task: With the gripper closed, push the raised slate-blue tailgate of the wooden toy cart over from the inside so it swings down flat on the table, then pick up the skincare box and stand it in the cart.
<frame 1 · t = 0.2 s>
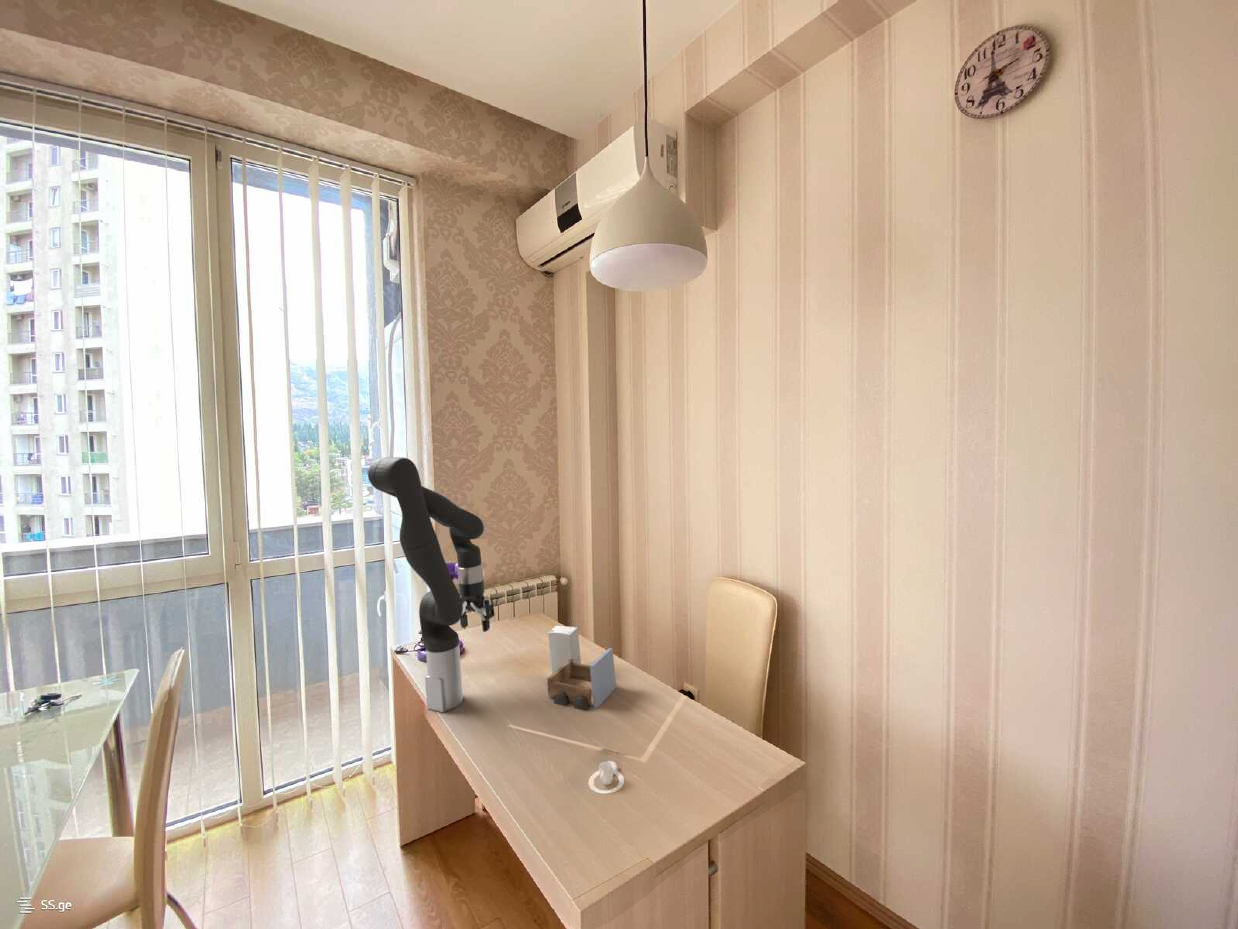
hand: (475, 629, 160), 17 cm above the table, tool pointing down, fingers open, 8 cm apart
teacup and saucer: (619, 780, 114), on the table
skincare box: (566, 674, 164), on the table
wooden toy cart: (583, 695, 150), on the table
tailgate: (603, 677, 146), point 7 cm above the table, hinge at -3.0°
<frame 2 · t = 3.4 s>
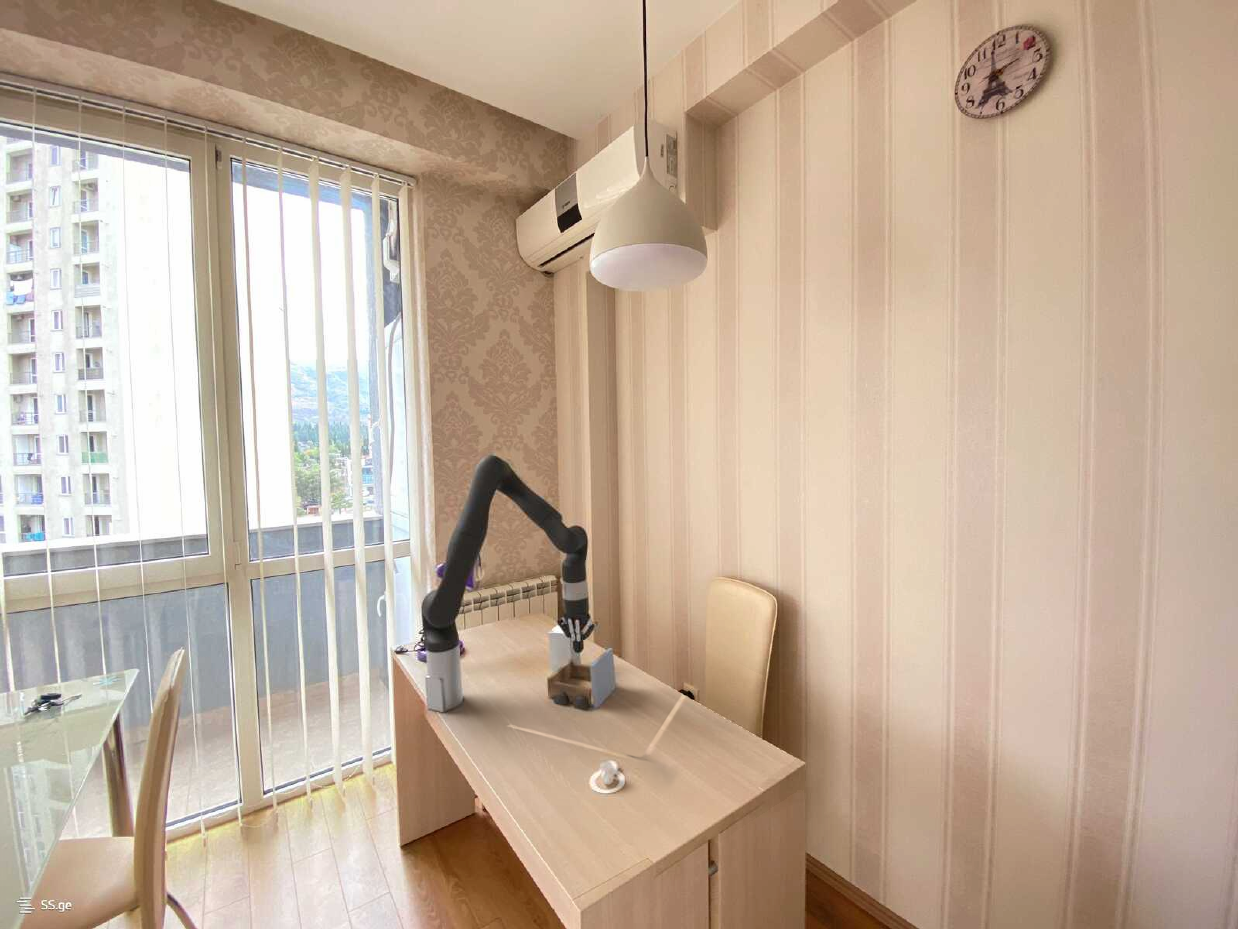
hand: (578, 651, 150), 13 cm above the table, tool pointing down, fingers closed
nothing on the table moved.
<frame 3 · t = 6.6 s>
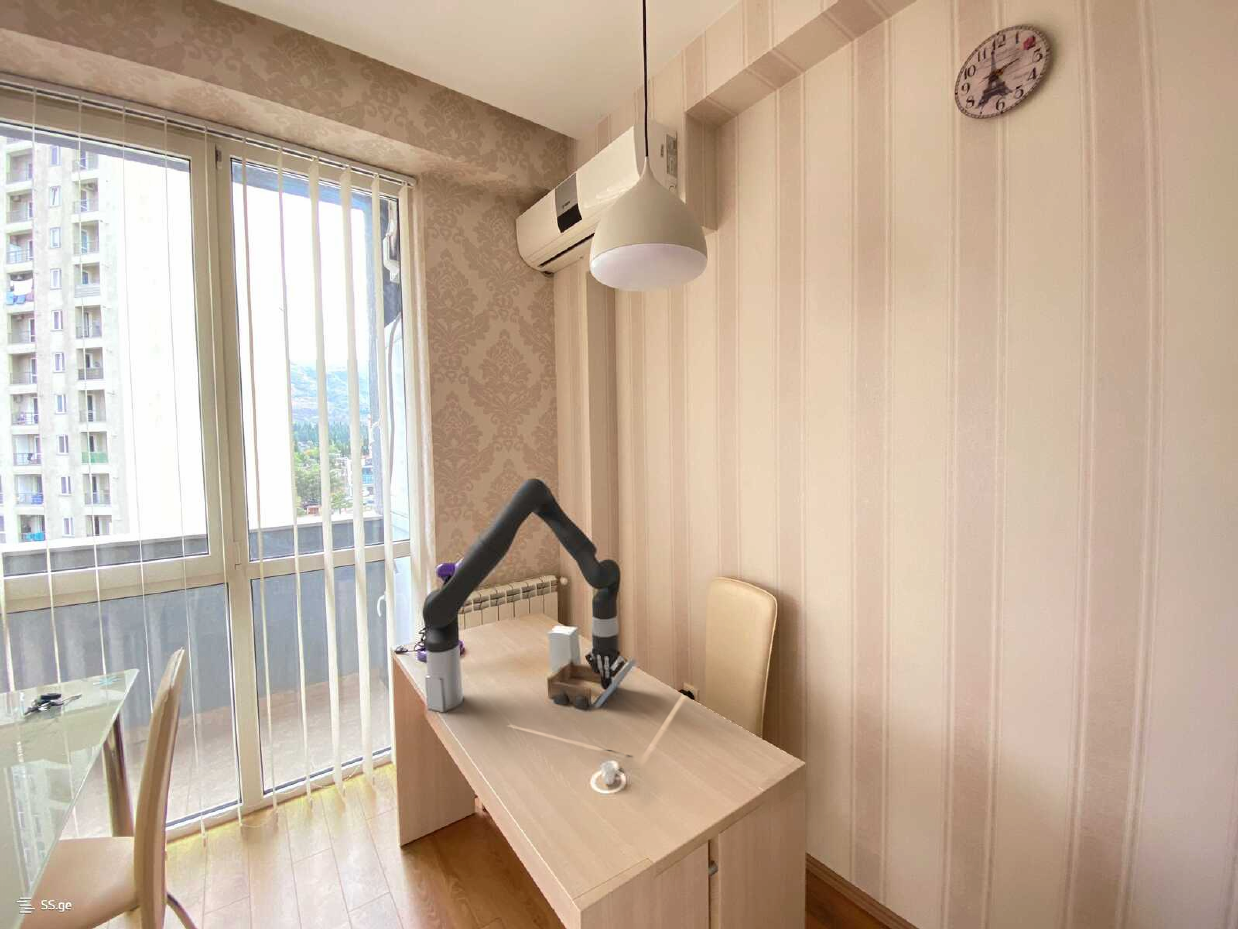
hand: (606, 688, 147), 4 cm above the table, tool pointing down, fingers closed
tailgate: (615, 683, 145), point 6 cm above the table, hinge at 37.1°, touching gripper
everything else where it was.
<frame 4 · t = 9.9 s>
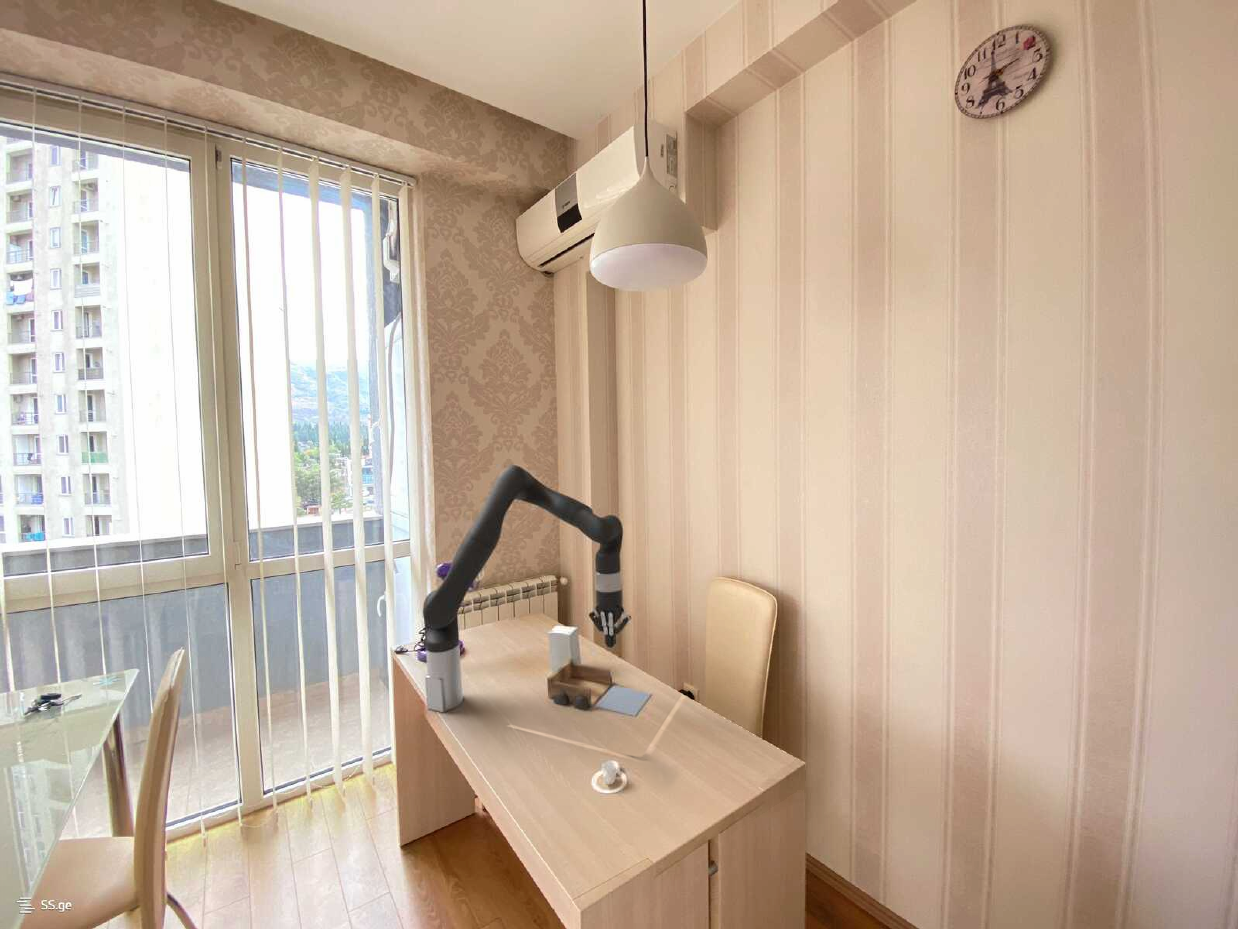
hand: (610, 646, 144), 17 cm above the table, tool pointing down, fingers closed
tailgate: (624, 701, 144), point 1 cm above the table, hinge at 92.0°
everything else where it was.
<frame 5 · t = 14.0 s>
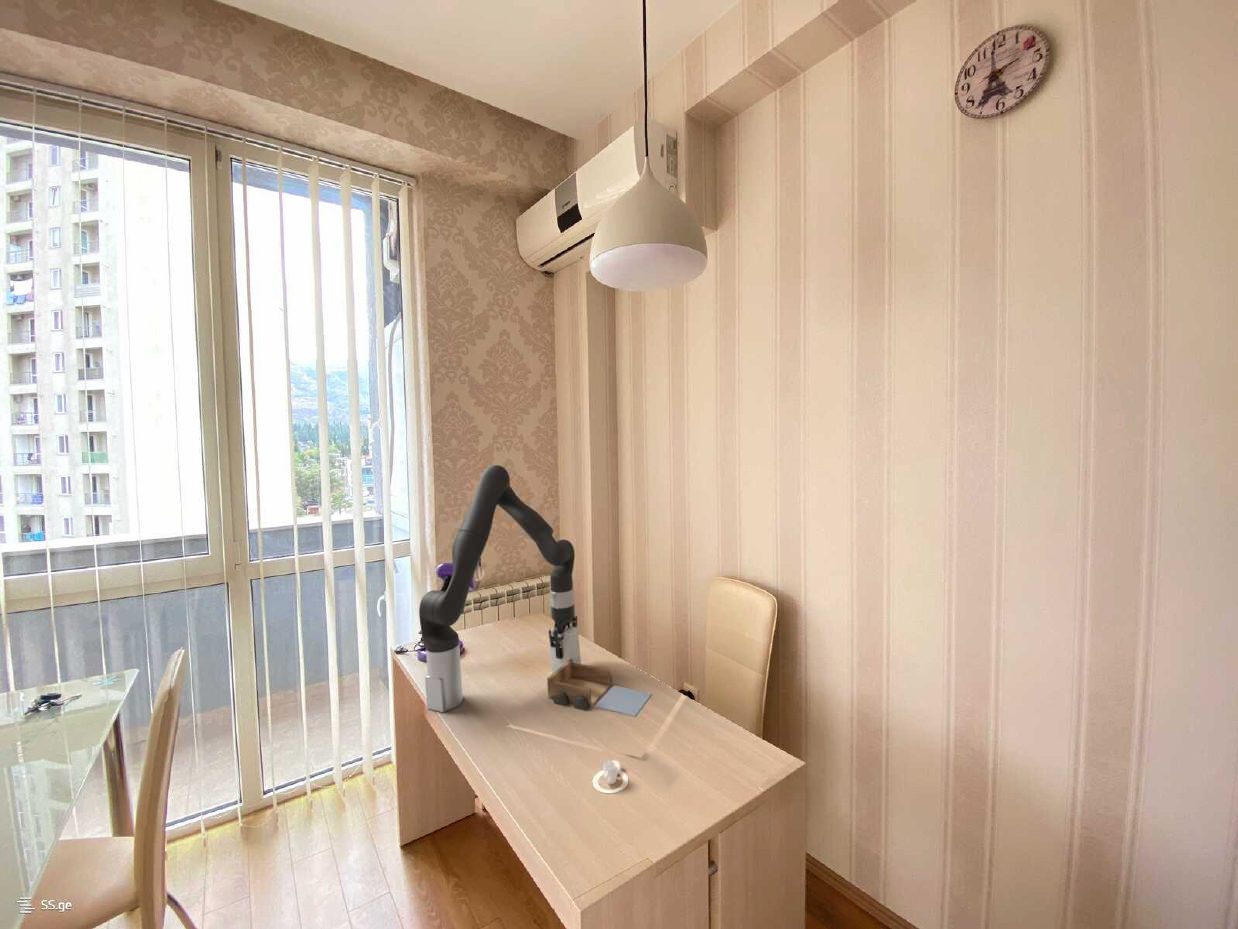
hand: (564, 653, 163), 7 cm above the table, tool pointing down, fingers closed on skincare box, 6 cm apart
skincare box: (566, 674, 164), on the table, touching gripper
everything else where it was.
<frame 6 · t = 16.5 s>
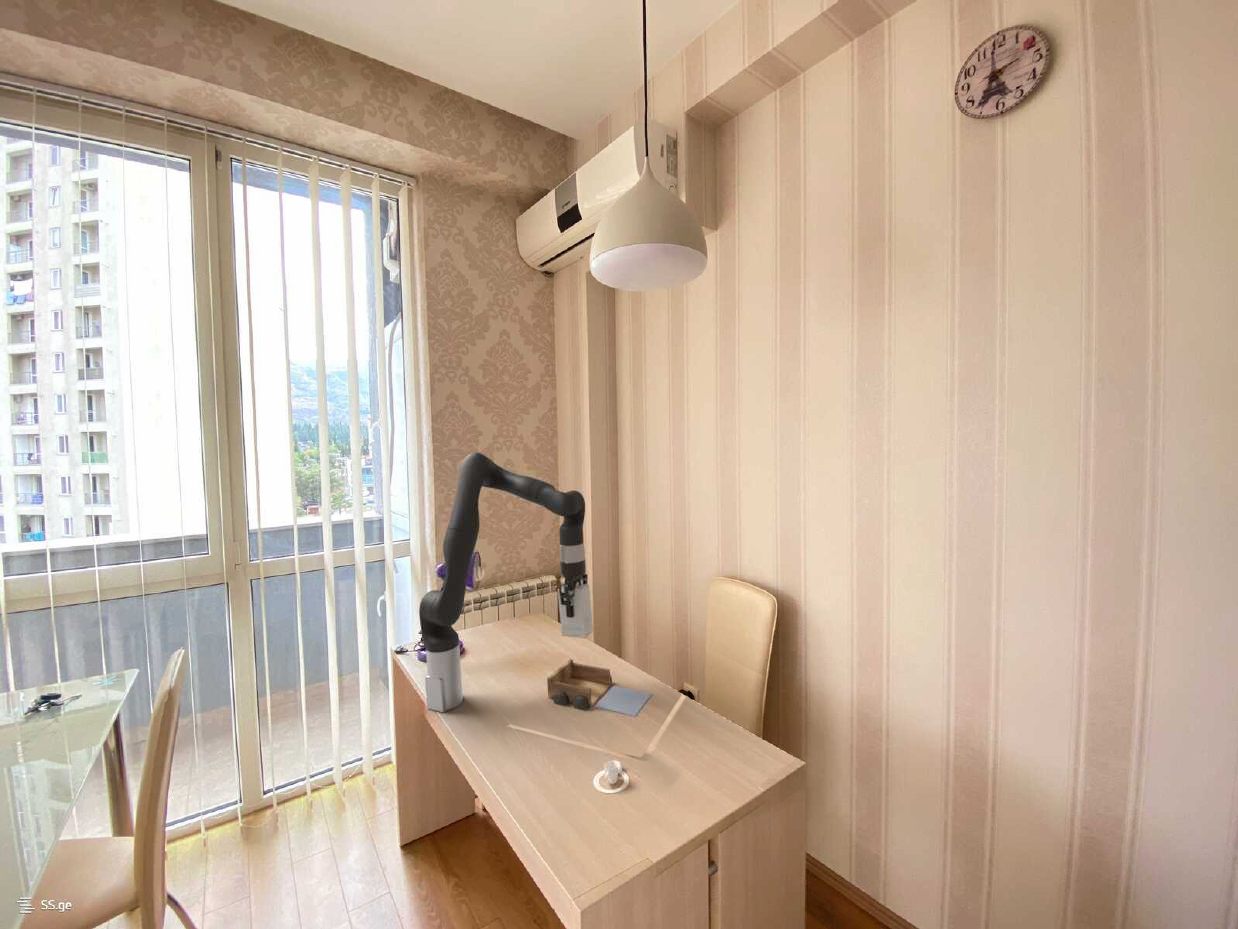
hand: (575, 613, 152), 24 cm above the table, tool pointing down, fingers closed on skincare box, 6 cm apart
skincare box: (576, 635, 153), point 17 cm above the table, touching gripper
when the fingers open (9 cm above the table, at t = 19.5 s): skincare box drops 1 cm, resting on wooden toy cart.
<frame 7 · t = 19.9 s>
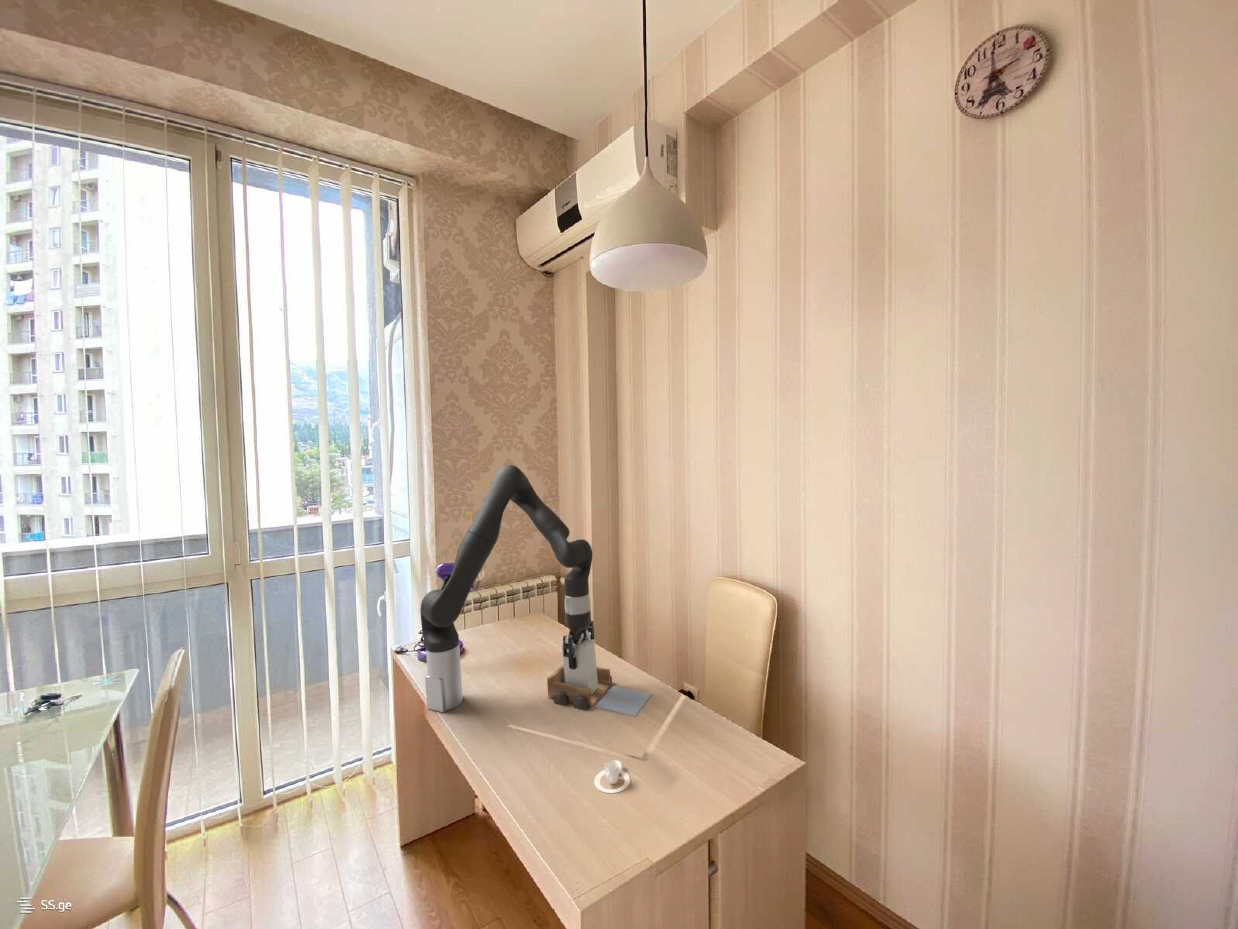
hand: (580, 662, 149), 10 cm above the table, tool pointing down, fingers open, 8 cm apart
skincare box: (581, 691, 150), point 1 cm above the table, touching wooden toy cart
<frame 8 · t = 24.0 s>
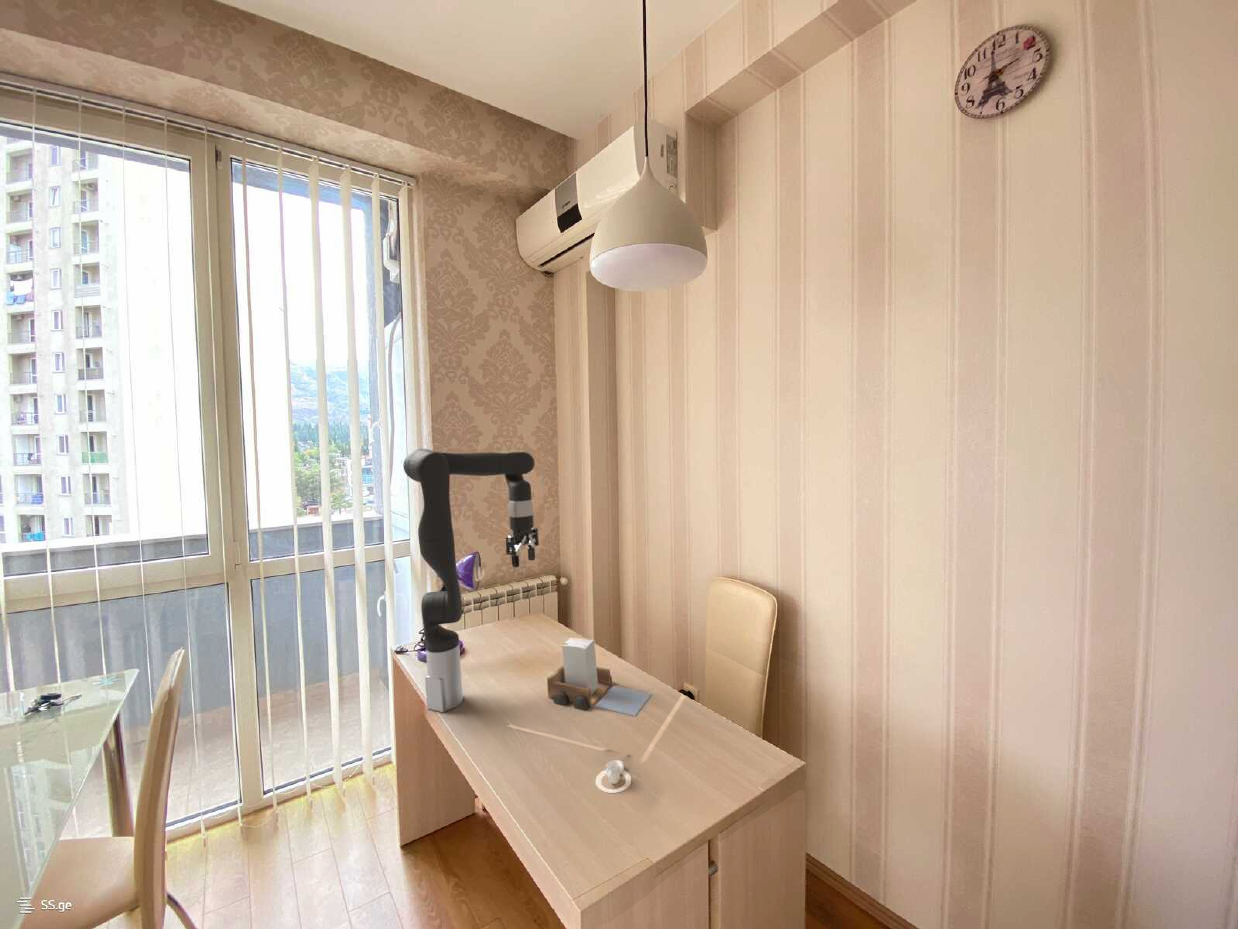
hand: (524, 563, 164), 36 cm above the table, tool pointing down, fingers open, 8 cm apart
at the end: tailgate at +92° (first picture: -3°); skincare box inside the target area (0.1 cm from its centre), point 1.3 cm above the table; skincare box tilted 0° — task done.
